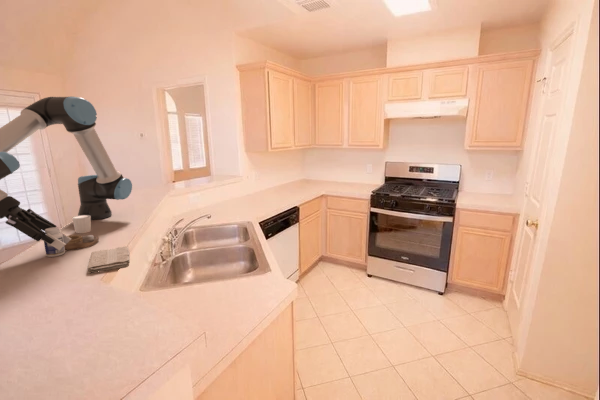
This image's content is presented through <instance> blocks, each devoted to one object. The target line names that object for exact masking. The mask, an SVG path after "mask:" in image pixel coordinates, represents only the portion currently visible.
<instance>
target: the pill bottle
mask: <svg viewBox="0 0 600 400" xmlns="http://www.w3.org/2000/svg"><path fill="white" fill-rule="evenodd" d="M44 232H45V233H46V235H47V234H48V233H49V234H51V235H52V236H54V237H55V238H57V239H59V240H60V241H62V242H64V240H63V234H64V233H63V234H61V233H59V232H61V228H60V227H53V228H47V229H45V231H44ZM43 242H44V243H43V245H44V251H45V256H46V257H50V258H51V257H52V258H53V257H58V256H61V255H64V254H65V253H66V250H65V247H63V248H61V249H60V250H58V249H56V248H55V247H53V246H51V245H50V244H48V243H46V242H45V241H43Z"/></svg>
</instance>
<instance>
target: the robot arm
mask: <svg viewBox="0 0 600 400" xmlns="http://www.w3.org/2000/svg"><path fill="white" fill-rule="evenodd" d="M97 115H98V114H97V110H96V108H95V107H94V105H93V103H91V102H90V101H89V100H88V99H85V98H83V97H80V96H79V97H78V96H47V97H44V98H41V99H39V100H37V101H35V102H33V103H31V104H30V105H28V106H27V107H25V108H23V109H21V111H20V115H17V116H16V117H15V118H13V119H12V120H11V121H9V122H7V123H6V124H5V125H3V126H1V127H0V181H1V180H2V179H4V178H6V177H7V176H9V175H12V174H13V173H15V172H16V171H18V170H19V169H20V166H21V165H20V162H19V160H18V159H17V158H16V157H15V156H14V155H13V154H11V153H10V151H12V149H14V148H15V147H16V146H18V145H20V144H21V143H22V142H24V140H26V139H27V138H29V137H31V136H32V135H33V134H34V133H35V132H37V131H39V130H45V129H46V128H48V127H50V126H52V125H63V126H64V129H65V130H66V132H68V133H70V134H73V136H74V138H75V139H76V141H77V142H78V144H79V147H80V148H81V150H82V152H83V153H84V155H85V157H86V158H87V160H88V162H89V164H90V166H91V167H92V169H93V171H94V172H95V174H91V175H82V176H78V178H77V187H78V194H79V202H80V205H79V209H78V212H77V216H80V215H90V216H91V221H92V220H93V221H94V220H95V221H96V220H100V219H101V220H102V219H106V218H109V217H112V216H111V215H113V212H112V210H111V207H110V206H109V203H108V201H107V200H116V201H119V200H125V199H127V198H129V196H131V194H132V190H133V183H132V180H130V178H127V177H124V176H123V174H122V173H121V171H119V170H117V169H116V168H115V167H116V166H114V164H113V162H112V159H111V158H110V156H109V154H108V152H107V149H106V148H105V146H104V145H103V143H102V141H101V138H100V137H99V135H98V133H97V131H96V129H95V127H96V125H97V123H96V121H97ZM20 205H21V201H19V200H18V199H16V198H15V197H13V196H11V195H9V194H8V192H5V191H4V190H2V189H1V188H0V220H1V219H4V218H6V219H7V220H6V221H5V224H6V225H8V226H11V227H13V228H14V229H16V230H17V231H20V232H21V233H23V234H25V236H27V237H30V238H31V239H33V240H34V241H36V242H40V241H43V242H44V241H45V242H46V243H48V244H50V245H51V246H53V247H55V248H56V249H58V250H60V249H61V248H63V247H64V246H65V245H66V244H67V243H68V242H69V241H70V240H71V238H70V237H68V236H69V235H66V234H65V233H64V232H61V231H60V232H59V233H61V234H63V240H64V242H62V241H60V240H59V239H57V238H55V237H54V236H52V235H51V234H49V233H48V234H47V235H46V233H45V229H47V228H53V227H57V225H55V224H54V223H53V222H51V221H49V220H48V219H46V218H44V217H43V216H41V215H40V214H38V213H36V212H35V211H34V210H32V209H31V208H28V209H27V210H26V209H24V208H22V207H20Z"/></svg>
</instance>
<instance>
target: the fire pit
mask: <svg viewBox="0 0 600 400" xmlns="http://www.w3.org/2000/svg"><path fill="white" fill-rule="evenodd" d="M67 236H68V237H70V238H71V240H70V241H69V242H68V243H67V244H66V245H65V246H64V247H65V251H74V250H81V249H85V248H89V247H90V248H91V247H92V246H94V245H97V244H98V243H99V237H98V236H94V235H93V234H89V235H88V234H87V235H79V234H72V235H67Z"/></svg>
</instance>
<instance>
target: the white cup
mask: <svg viewBox="0 0 600 400" xmlns="http://www.w3.org/2000/svg"><path fill="white" fill-rule="evenodd" d="M71 219H72V224H73V228H74V231H75V233H76V234H86V233H89V232H91V231H92V229H91V228H92V227H91V226H92V222H91V221H92V220H91V216H90V215H80V216H78V215H75V216H73V217H72V218H71Z"/></svg>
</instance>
